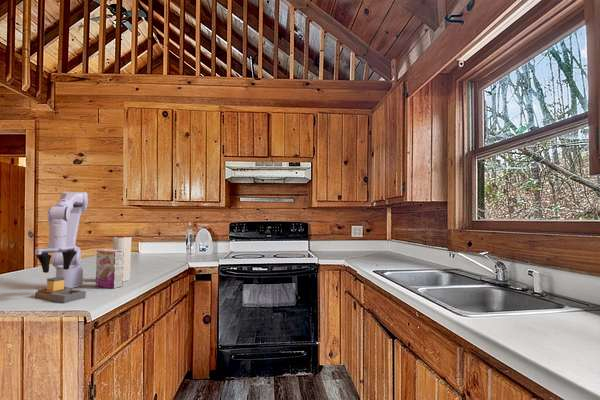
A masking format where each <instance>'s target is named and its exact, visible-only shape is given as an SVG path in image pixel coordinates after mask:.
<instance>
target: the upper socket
mask: <svg viewBox="0 0 600 400" xmlns="http://www.w3.org/2000/svg"><path fill="white" fill-rule="evenodd" d="M70 289H73V288H70V287H64V289H61V290H57V291H47V287H46V288H42V289H37V291H35V293H34V298H36V299H41V300H47V299H48V300H49V301H50V294H51V293H56V292H60V291H65V290H70Z"/></svg>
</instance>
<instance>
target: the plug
mask: <svg viewBox="0 0 600 400" xmlns="http://www.w3.org/2000/svg"><path fill="white" fill-rule="evenodd" d="M46 288H47V291H57V290H61V289H64V278H62V277H56V276H54V277H49V278H48V277H47V279H46Z"/></svg>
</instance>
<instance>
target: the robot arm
mask: <svg viewBox="0 0 600 400" xmlns="http://www.w3.org/2000/svg"><path fill="white" fill-rule="evenodd" d="M88 202H89V194H88V192H86V191H84V192H83V191H65V190H64V191H62V192H61V194H60V200H59V201H58V202H57V203H56V204H55V205H53V206H51V207H48V210H47V225H48V227H49V229H48V230H49V231H48V246H47V247H44V248H36V249H35V253H34V254H35V255H36V258H37V260H38V261H39V262H40V266H41V268H42V273H45V274H47V273H49V271H50V263H51V265H52V266H53V267H54V268H55V277H62V278H64V287H70V288H72V289H74V288H77V287H79V288H80V287H83V286H84V284H83V283H84V282H83V281H84V280H83V279H84V278H83V277H84V270H83V268H82V267H81V263H82V250H81V247H79V246H77V245H76V242H77V237H78V232H79V231H78V230H79V226H80V219H81V215H82V214H83V213H84V212H86V211H87V208H88Z"/></svg>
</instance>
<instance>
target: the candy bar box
mask: <svg viewBox="0 0 600 400" xmlns="http://www.w3.org/2000/svg"><path fill="white" fill-rule="evenodd" d="M123 259H124V251H122V250H113V249H111V248H110V249H109V248H104V249H97V250H96V262H95V263H96V264H95V265H96V269H95V287H99V288H105V289H112V290H114V289H119V288H122V287H123V283H124V282H123Z"/></svg>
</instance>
